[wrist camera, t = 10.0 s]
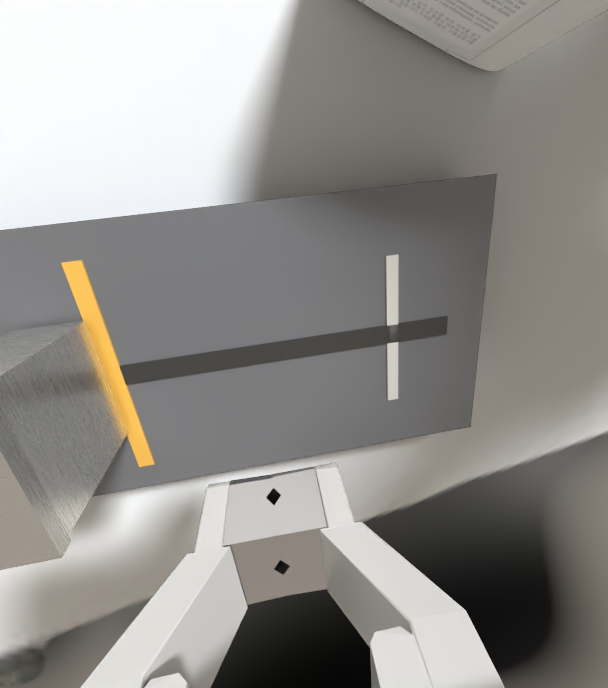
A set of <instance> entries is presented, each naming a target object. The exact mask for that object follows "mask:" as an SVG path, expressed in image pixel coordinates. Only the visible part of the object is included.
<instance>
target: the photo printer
mask: <svg viewBox="0 0 608 688" xmlns="http://www.w3.org/2000/svg"><path fill="white" fill-rule="evenodd" d="M358 1H360V2H361V3H363V4H365V5H366V6H368V7H370V8H371V9H372V10H374V11H376V12H377V13H379V14H381V15H383V16H384V17H386V18H388V19H389V20H391V21H393V22H394V23H396V24H398V25H399V26H401V27H403V28H405V29H406V30H408V31H410V32H412V33H413V34H415V35H417V36H418V37H420V38H422V39H424V40H426V41H427V42H429V43H431V44H433V45H434V46H436V47H438V48H440V49H441V50H443V51H445V52H447V53H448V54H450V55H452V56H454V57H456V58H458V59H460V60H462V61H464V62H466V63H468V64H471V65H473V66H475V67H478V68H481V69H484V70H487V71H499V70H502V69H504V68H506V67H508V66H510V65H512V64H513V63H515V62H517V61H519V60H520V59H522V58H524V57H526V56H527V55H529V54H531V53H533V52H534V51H536V50H538V49H540V48H541V47H543V46H545V45H547V44H549V43H550V42H552V41H554V40H556V39H557V38H559V37H561V36H563V35H564V34H566V33H568V32H570V31H571V30H573V29H575V28H577V27H578V26H580V25H582V24H584V23H586V22H587V21H589V20H591V19H593V18H595V17H596V16H598V15H600V14H602V13H603V12H605V11H607V10H608V0H358Z"/></svg>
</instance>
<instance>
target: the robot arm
mask: <svg viewBox="0 0 608 688" xmlns="http://www.w3.org/2000/svg"><path fill="white" fill-rule="evenodd" d="M323 589H328V592H329V593H330V595H331V596H332V597H333V599H334V600H335V601H336V603H337V604H338V605H339V607H340V608H341V609H342V611H343V612H344V613H345V615H346V616H347V618H348V619H349V620H350V621H351V623H352V624H353V625H354V627H355V628H356V630H357V631H358V632H359V634H360V635H361V636H362V637H363V639H364V640H365V642H366V643H367V644H368V646H369V647H370V653H371V678H372V688H505V687H504V685H503V683H502V681H501V679H500V677H499V675H498V673H497V671H496V669H495V667H494V666H493V664H492V661H491V660H490V658H489V656H488V654H487V652H486V650H485V648H484V646H483V644H482V642H481V640H480V638H479V636H478V634H477V632H476V630H475V628H474V626H473V624H472V622H471V620H470V618H469V616H468V614H467V612H466V610H464V609H463V608H462V607H461V606H460V605H458V604H457V603H456V602H455V601H454V600H453V599H451V598H450V597H449V596H448V595H447V594H446V593H444V592H443V591H442V590H441V589H440V588H438V586H436V585H435V584H434V583H433V582H432V581H430V580H429V579H428V578H427V577H426V576H424V575H423V574H422V573H421V572H420V571H418V569H416V568H415V567H414V566H413V565H412V564H411V563H409V562H408V561H407V560H406V559H405V558H404V557H402V556H401V555H400V554H399V553H398V552H397V551H395V550H394V549H393V548H392V547H390V546H389V545H388V544H387V543H386V542H385V541H383V540H382V539H381V538H380V537H379V536H378V535H377V534H375V533H374V532H373V531H372V530H371V529H369V528H368V527H367V526H366V525H365V524H364V523H363V522H356V523H355V522H354V519H353V516H352V512H351V509H350V506H349V502H348V499H347V495H346V492H345V489H344V485H343V482H342V479H341V475H340V472H339V469H338V465H337V464H336V463H331V464H325V465H320V466H315V468H314V467H310V468H304V469H299V470H293V471H288V472H282V473H277V474H273V475H266V476H259V477H252V478H246V479H239V480H232V481H229V482H222V483H215V484H209V485H208V487H207V489H206V492H205V497H204V502H203V508H202V513H201V518H200V523H199V528H198V533H197V539H196V544H195V549H194V553H189V554H186V555H185V557H184V558H183V559H182V560H181V562H180V563H179V564H178V565H177V567H176V568H175V569H174V570H173V572H172V573H171V574H170V575H169V577H168V578H167V579H166V581H165V582H164V583H163V584H162V586H161V587H160V588H159V589H158V591H157V592H156V593H155V594H154V596H153V597H152V598H151V599H150V601H149V602H148V603H147V604H146V606H145V607H144V608H143V610H142V611H141V612H140V613H139V615H138V616H137V617H136V618H135V620H134V621H133V622H132V623H131V625H130V626H129V627H128V628H127V630H126V631H125V632H124V633H123V635H122V636H121V637H120V638H119V640H118V641H117V642H116V644H115V645H114V646H113V647H112V648H111V650H110V651H109V652H108V654H107V655H106V656H105V657H104V659H103V660H102V661H101V662H100V664H99V665H98V666H97V668H96V669H95V670H94V671H93V672H92V674H91V675H90V676H89V677H88V679H87V680H86V681H85V682H84V684H83V685H82V686H81V688H210V687H211V685H212V683H213V681H214V679H215V677H216V674H217V673H218V670H219V668H220V666H221V664H222V662H223V659H224V658H225V655H226V653H227V651H228V649H229V647H230V645H231V643H232V640H233V638H234V636H235V634H236V632H237V630H238V628H239V625H240V623H241V621H242V619H243V617H244V614H245V612H246V610H247V605H249V604H253V603H257V602H261V601H266V600H270V599H274V598H279V597H283V596H287V595H293V594H299V593H305V592H311V591H317V590H323Z"/></svg>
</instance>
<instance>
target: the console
mask: <svg viewBox="0 0 608 688" xmlns="http://www.w3.org/2000/svg"><path fill="white" fill-rule="evenodd" d="M496 177H497V174H492V175H484V176H475V177H466V178H457V179H448V180H439V181H431V182H422V183H413V184H404V185H395V186H387V187H378V188H369V189H360V190H351V191H342V192H334V193H325V194H316V195H307V196H298V197H289V198H281V199H272V200H263V201H254V202H245V203H236V204H228V205H219V206H210V207H201V208H192V209H184V210H175V211H166V212H157V213H148V214H139V215H131V216H122V217H113V218H104V219H95V220H86V221H78V222H69V223H60V224H51V225H42V226H33V227H25V228H16V229H7V230H0V337H2V336H4V335H6V334H8V333H10V332H12V331H15V330H22V329H29V328H36V327H43V326H50V325H58V324H65V323H72V322H79V321H87V324H88V327H89V329H90V332H91V335H92V337H93V340H94V343H95V345H96V348H97V350H98V353H99V356H100V358H101V361H102V364H103V366H104V369H105V372H106V374H107V377H108V379H109V382H110V385H111V387H112V390H113V393H114V395H115V398H116V401H117V403H118V406H119V408H120V411H121V414H122V416H123V419H124V422H125V424H126V427H127V430H128V434H127V435H126V437H125V439H124V441H123V442H122V444H121V446H120V448H119V449H118V451H117V453H116V455H115V456H114V458H113V460H112V462H111V463H110V465H109V467H108V469H107V470H106V472H105V474H104V476H103V477H102V479H101V481H100V483H99V484H98V486H97V488H96V490H95V491H94V493H93V495H92V497H93V496H98V495H103V494H109V493H114V492H120V491H125V490H130V489H136V488H141V487H147V486H152V485H158V484H163V483H168V482H174V481H179V480H185V479H190V478H196V477H201V476H206V475H212V474H217V473H223V472H228V471H233V470H239V469H244V468H250V467H255V466H261V465H266V464H271V463H277V462H282V461H288V460H293V459H299V458H304V457H309V456H315V455H320V454H326V453H331V452H336V451H342V450H347V449H353V448H358V447H364V446H369V445H374V444H380V443H385V442H391V441H396V440H402V439H407V438H412V437H418V436H423V435H429V434H434V433H440V432H445V431H450V430H456V429H461V428H467V427H470V426H471V417H472V407H473V398H474V388H475V378H476V369H477V359H478V350H479V340H480V330H481V321H482V311H483V302H484V292H485V282H486V273H487V263H488V254H489V244H490V235H491V225H492V215H493V206H494V196H495V187H496Z"/></svg>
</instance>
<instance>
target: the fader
mask: <svg viewBox="0 0 608 688" xmlns="http://www.w3.org/2000/svg"><path fill="white" fill-rule="evenodd" d="M127 434H128V430H127V427H126V424H125V422H124V419H123V416H122V414H121V411H120V408H119V406H118V403H117V401H116V398H115V395H114V393H113V390H112V387H111V385H110V382H109V379H108V377H107V374H106V372H105V369H104V366H103V364H102V361H101V358H100V356H99V353H98V350H97V348H96V345H95V343H94V340H93V337H92V335H91V332H90V329H89V327H88V324H87V321H79V322H72V323H65V324H58V325H50V326H43V327H36V328H29V329H22V330H15V331H12V332H10V333H8V334H6V335H4V336H2V337H0V570H2V569H7V568H12V567H17V566H23V565H28V564H33V563H38V562H43V561H48V560H53V559H58V558H62V557H63V555H64V553H65V551H66V549H67V548H68V546H69V544H70V542H71V540H70V538H69V535H70V533H71V532H72V530H73V528H74V526H75V525H76V523H77V521H78V519H79V518H80V516H81V514H82V512H83V511H84V509H85V507H86V505H87V504H88V502H89V500H90V498H91V497H92V495H93V493H94V491H95V490H96V488H97V486H98V484H99V483H100V481H101V479H102V477H103V476H104V474H105V472H106V470H107V469H108V467H109V465H110V463H111V462H112V460H113V458H114V456H115V455H116V453H117V451H118V449H119V448H120V446H121V444H122V442H123V441H124V439H125V437H126V435H127Z"/></svg>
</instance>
